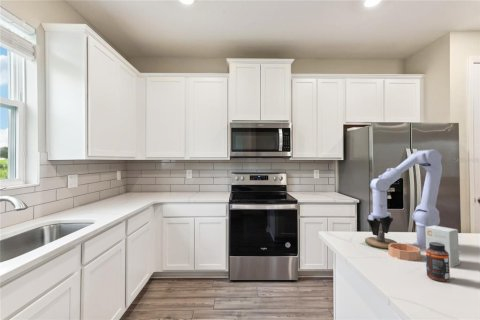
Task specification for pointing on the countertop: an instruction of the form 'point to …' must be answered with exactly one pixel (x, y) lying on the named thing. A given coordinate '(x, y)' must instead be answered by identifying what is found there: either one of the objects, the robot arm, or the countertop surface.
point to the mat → (375, 247)
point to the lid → (379, 241)
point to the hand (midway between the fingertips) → (380, 234)
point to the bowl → (404, 251)
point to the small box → (444, 241)
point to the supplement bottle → (437, 262)
